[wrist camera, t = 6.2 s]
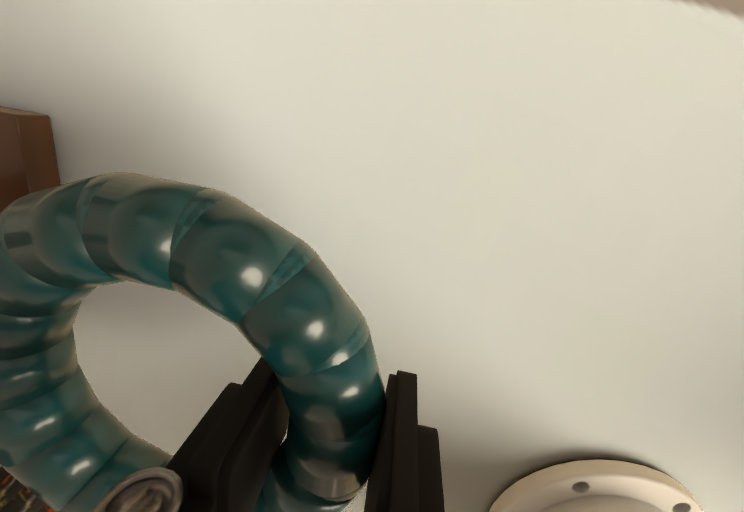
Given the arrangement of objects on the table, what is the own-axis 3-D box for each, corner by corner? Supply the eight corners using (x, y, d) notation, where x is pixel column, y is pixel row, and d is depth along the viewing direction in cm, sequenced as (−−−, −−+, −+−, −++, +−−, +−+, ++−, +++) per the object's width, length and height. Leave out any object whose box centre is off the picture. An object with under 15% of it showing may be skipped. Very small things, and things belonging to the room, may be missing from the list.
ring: (425, 219, 8) (430, 250, 6) (353, 531, 12) (339, 622, 10) (-14, 134, 9) (-163, 132, 7) (50, 458, 13) (-29, 527, 10)
